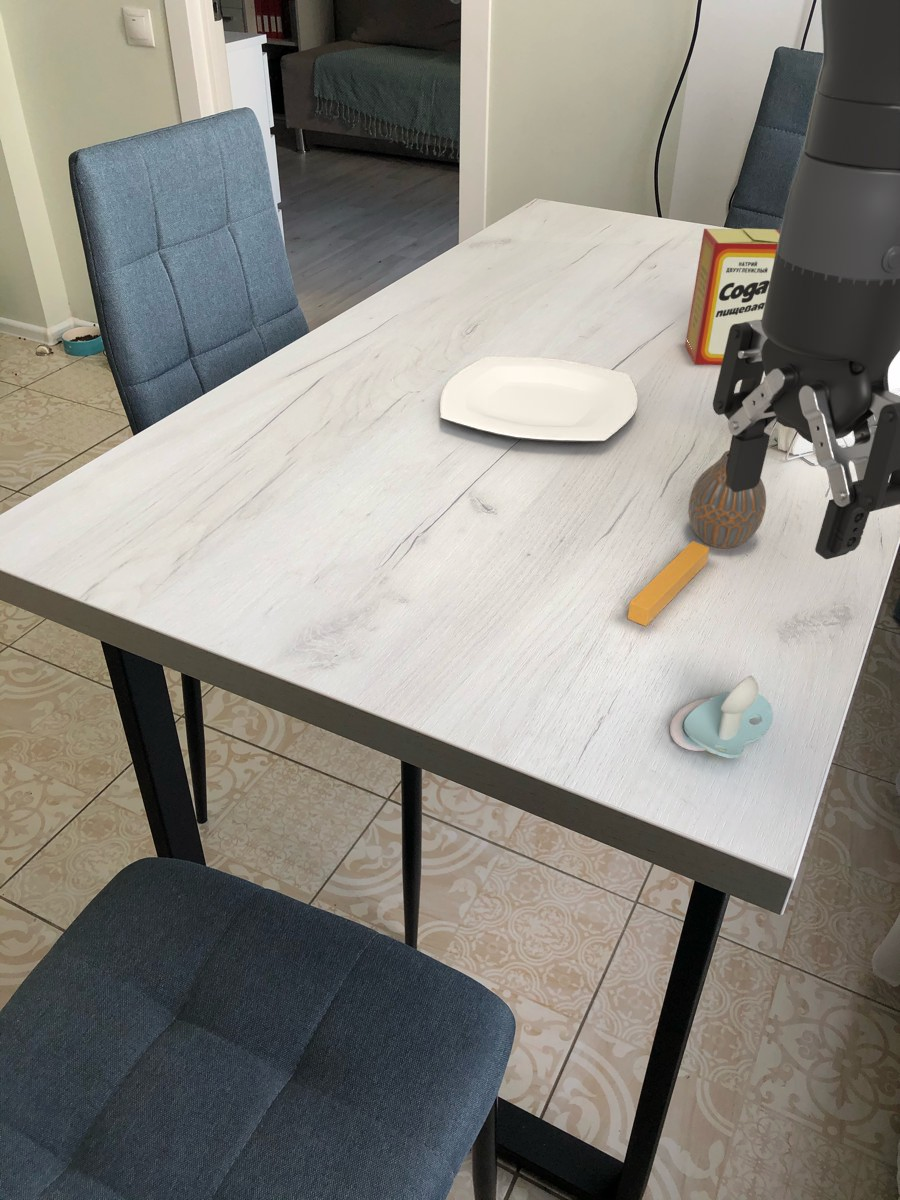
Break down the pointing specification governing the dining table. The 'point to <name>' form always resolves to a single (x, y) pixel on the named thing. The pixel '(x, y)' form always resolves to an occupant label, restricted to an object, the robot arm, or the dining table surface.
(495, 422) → the plate
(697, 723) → the pacifier
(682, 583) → the wooden stick
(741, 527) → the vase
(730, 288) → the baking soda box
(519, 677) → the dining table surface
